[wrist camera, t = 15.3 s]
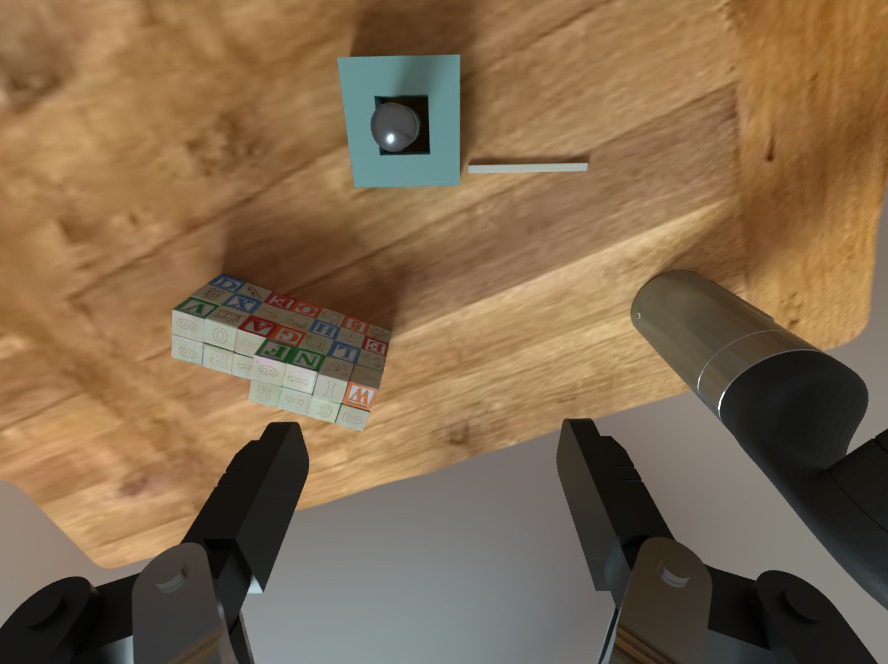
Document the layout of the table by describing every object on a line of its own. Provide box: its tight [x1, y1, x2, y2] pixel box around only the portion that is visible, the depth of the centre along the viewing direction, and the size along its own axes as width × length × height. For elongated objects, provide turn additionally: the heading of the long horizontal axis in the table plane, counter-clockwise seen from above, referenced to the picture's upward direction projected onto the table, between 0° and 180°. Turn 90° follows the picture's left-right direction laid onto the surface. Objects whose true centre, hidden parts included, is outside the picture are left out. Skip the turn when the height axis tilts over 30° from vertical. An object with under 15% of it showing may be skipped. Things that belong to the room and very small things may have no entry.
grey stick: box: [468, 163, 588, 173], centre depth 38 cm, size 12×1×1 cm, turn 91°
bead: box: [337, 54, 460, 188], centre depth 34 cm, size 10×10×4 cm
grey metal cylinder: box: [370, 102, 423, 152], centre depth 31 cm, size 3×3×12 cm
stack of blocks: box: [172, 274, 392, 431], centre depth 42 cm, size 21×6×12 cm, turn 68°
